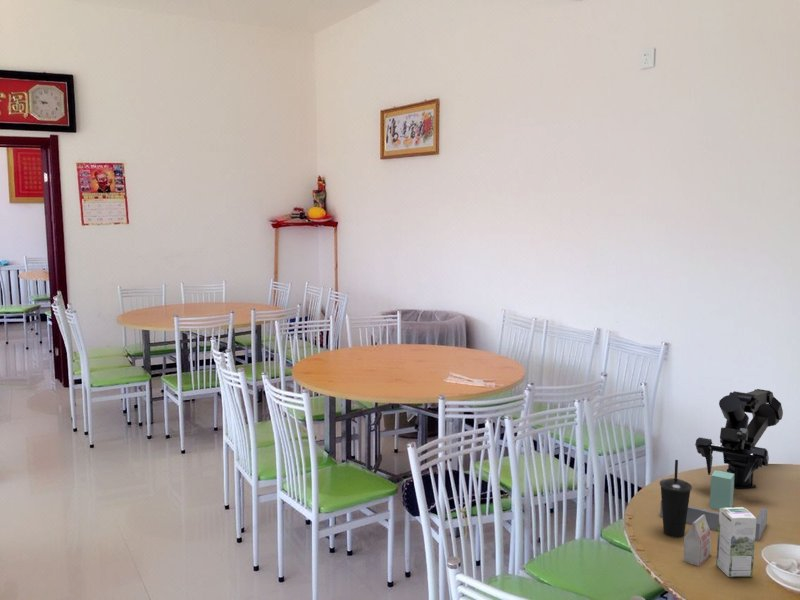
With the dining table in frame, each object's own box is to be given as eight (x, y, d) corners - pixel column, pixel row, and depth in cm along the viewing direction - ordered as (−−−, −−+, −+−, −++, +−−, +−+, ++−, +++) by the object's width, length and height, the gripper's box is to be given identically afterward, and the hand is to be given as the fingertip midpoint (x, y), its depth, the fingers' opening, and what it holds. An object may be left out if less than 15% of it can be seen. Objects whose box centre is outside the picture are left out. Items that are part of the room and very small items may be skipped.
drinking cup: (651, 531, 175) (653, 457, 173) (673, 526, 178) (676, 453, 176) (673, 544, 168) (676, 467, 166) (696, 538, 171) (699, 462, 169)
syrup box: (739, 564, 158) (742, 505, 156) (753, 578, 152) (756, 516, 151) (715, 565, 158) (718, 506, 156) (728, 578, 152) (731, 517, 150)
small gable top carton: (683, 561, 160) (685, 520, 159) (694, 551, 165) (696, 512, 164) (699, 566, 158) (701, 525, 156) (710, 556, 162) (711, 516, 161)
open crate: (671, 504, 192) (672, 487, 191) (766, 526, 178) (767, 508, 177) (660, 518, 183) (660, 501, 182) (758, 543, 168) (759, 524, 168)
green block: (713, 503, 192) (715, 470, 191) (732, 508, 189) (734, 473, 188) (709, 509, 188) (711, 475, 187) (729, 514, 185) (730, 479, 184)
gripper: (697, 410, 199) (687, 457, 191) (769, 421, 188) (760, 471, 180) (703, 429, 206) (693, 475, 199) (772, 440, 195) (764, 489, 188)
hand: (726, 477), depth 191 cm, fingers open, 9 cm apart
